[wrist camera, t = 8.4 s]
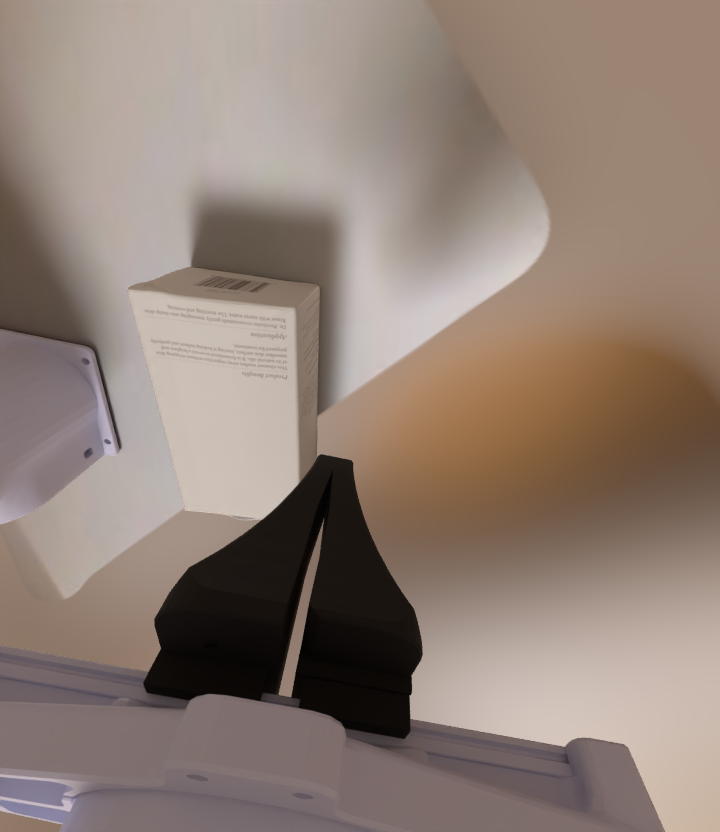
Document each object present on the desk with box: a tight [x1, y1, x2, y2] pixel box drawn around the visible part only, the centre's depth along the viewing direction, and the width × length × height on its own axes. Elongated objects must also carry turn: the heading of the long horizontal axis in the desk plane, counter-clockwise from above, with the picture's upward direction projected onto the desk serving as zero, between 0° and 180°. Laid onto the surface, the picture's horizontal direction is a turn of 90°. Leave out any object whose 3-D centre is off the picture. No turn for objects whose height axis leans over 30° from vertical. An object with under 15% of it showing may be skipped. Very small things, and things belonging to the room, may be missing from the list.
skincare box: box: [128, 267, 320, 520], centre depth 21 cm, size 8×6×15 cm
